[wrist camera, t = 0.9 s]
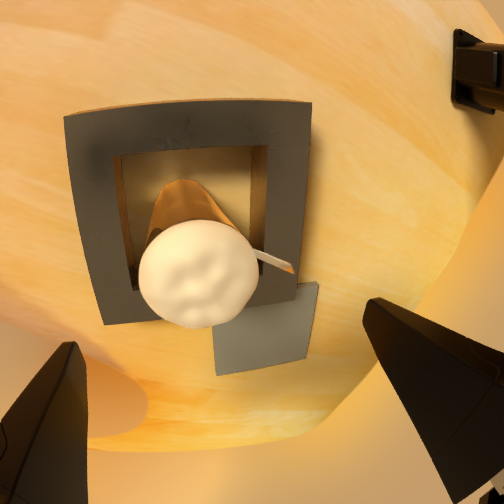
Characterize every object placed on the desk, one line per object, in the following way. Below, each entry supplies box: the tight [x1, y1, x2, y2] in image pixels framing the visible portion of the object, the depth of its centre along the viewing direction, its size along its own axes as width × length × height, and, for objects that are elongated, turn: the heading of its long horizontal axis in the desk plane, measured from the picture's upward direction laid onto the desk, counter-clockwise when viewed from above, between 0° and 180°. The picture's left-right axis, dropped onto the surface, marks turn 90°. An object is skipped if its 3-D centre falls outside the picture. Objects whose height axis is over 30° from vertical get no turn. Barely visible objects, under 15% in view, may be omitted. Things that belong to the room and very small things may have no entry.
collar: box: [64, 98, 312, 325], centre depth 18 cm, size 12×12×3 cm
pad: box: [212, 282, 319, 376], centre depth 25 cm, size 8×8×1 cm
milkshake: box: [139, 179, 295, 329], centre depth 15 cm, size 4×5×10 cm
